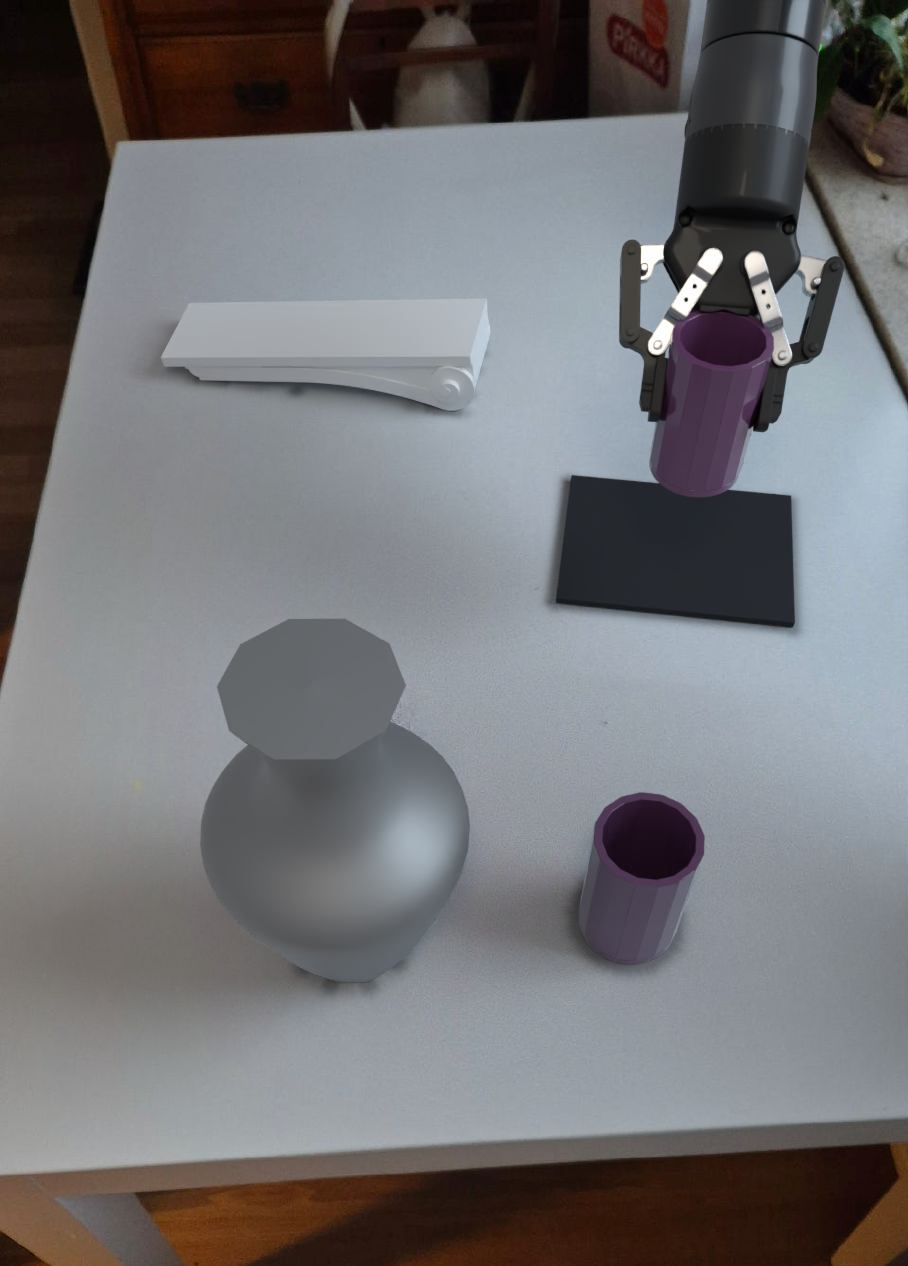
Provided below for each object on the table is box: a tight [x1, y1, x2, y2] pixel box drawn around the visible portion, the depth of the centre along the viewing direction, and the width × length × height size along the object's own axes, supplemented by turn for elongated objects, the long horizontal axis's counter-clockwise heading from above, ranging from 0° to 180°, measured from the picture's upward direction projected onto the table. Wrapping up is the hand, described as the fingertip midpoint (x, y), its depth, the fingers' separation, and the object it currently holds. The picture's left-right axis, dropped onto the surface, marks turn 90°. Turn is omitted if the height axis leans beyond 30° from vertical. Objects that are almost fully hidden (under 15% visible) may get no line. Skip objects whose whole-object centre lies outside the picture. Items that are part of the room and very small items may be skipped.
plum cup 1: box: [577, 791, 706, 965], centre depth 68 cm, size 6×6×10 cm
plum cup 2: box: [648, 311, 774, 498], centre depth 74 cm, size 6×6×10 cm
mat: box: [555, 474, 796, 628], centre depth 90 cm, size 18×14×1 cm
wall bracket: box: [160, 297, 491, 412], centre depth 102 cm, size 10×7×28 cm
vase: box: [199, 618, 471, 983], centre depth 61 cm, size 14×14×25 cm
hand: (707, 424), depth 73 cm, fingers closed on plum cup 2, 6 cm apart
